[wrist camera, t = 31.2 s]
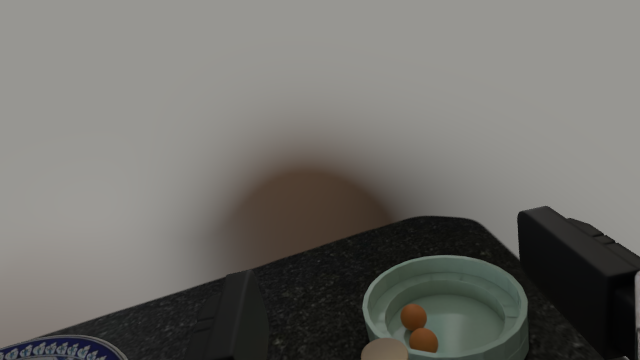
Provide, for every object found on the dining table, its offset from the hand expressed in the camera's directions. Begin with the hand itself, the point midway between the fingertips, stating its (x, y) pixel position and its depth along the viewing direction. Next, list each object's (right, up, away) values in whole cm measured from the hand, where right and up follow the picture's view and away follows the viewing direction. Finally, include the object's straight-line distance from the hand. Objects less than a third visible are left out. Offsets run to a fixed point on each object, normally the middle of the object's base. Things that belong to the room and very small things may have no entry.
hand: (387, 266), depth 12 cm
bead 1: (+9, -13, +36) cm, 39 cm away
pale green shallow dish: (+12, -15, +35) cm, 40 cm away
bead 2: (+9, -15, +32) cm, 36 cm away
